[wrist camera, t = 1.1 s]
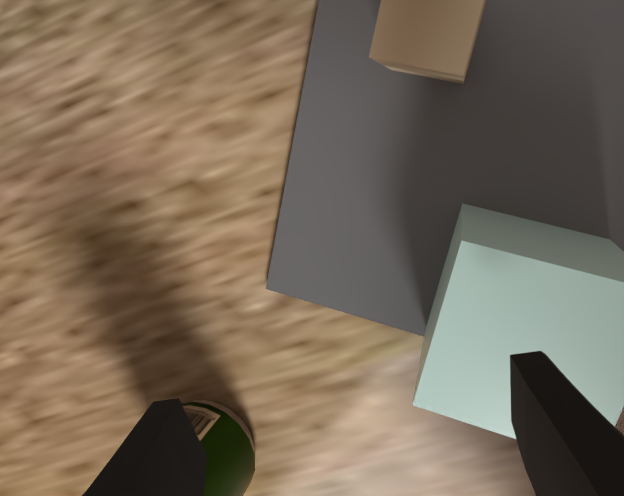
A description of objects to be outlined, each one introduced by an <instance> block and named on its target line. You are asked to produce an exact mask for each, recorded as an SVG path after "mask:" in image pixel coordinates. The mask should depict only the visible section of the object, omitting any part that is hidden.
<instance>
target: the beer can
mask: <svg viewBox="0 0 624 496" xmlns="http://www.w3.org/2000/svg"><path fill="white" fill-rule="evenodd" d="M181 404H182V406H183V408H184V410H185V412H186V414H187V416H188V418H189V420H190V422H191V424H192V426H193V428H194V430H195V432H196V434H197V436H198V438H199V440H200V442H201V444H202V446H203V449H204V451H205V453H206V455H207V465H206V476H205V485H204V494H203V496H243V495H244V493H245V491H246V490H247V488H248V486H249V484H250V482H251V479H252V477H253V474H254V471H255V448H254V442H253V439H252V436H251V433H250V431H249V429H248V428H247V426H246V425H245V423H244V422H243V421H242V419H241V418H240V417H239V416H238V415H236V414H235V413H234V412H233V411H232V410H230V409H229V408H227V407H225V406H223V405H221V404H219V403H217V402H214V401H208V400H202V399H201V400H195V401H188V402H184V403H181ZM82 496H83V495H82Z"/></svg>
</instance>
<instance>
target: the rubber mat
mask: <svg viewBox="0 0 624 496" xmlns="http://www.w3.org/2000/svg"><path fill="white" fill-rule="evenodd" d="M380 3H381V0H319V3H318V8H317V14H316V19H315V24H314V30H313V35H312V41H311V46H310V52H309V57H308V62H307V68H306V73H305V79H304V84H303V90H302V95H301V100H300V106H299V111H298V117H297V122H296V128H295V133H294V138H293V144H292V149H291V155H290V160H289V166H288V171H287V176H286V182H285V187H284V193H283V198H282V204H281V209H280V214H279V220H278V225H277V231H276V236H275V242H274V247H273V252H272V258H271V263H270V269H269V274H268V280H267V285H266V289H268V290H272V291H275V292H278V293H282V294H285V295H288V296H292V297H295V298H298V299H302V300H305V301H308V302H312V303H315V304H318V305H322V306H325V307H328V308H332V309H335V310H338V311H342V312H345V313H348V314H352V315H355V316H358V317H362V318H365V319H368V320H372V321H375V322H378V323H382V324H385V325H388V326H392V327H395V328H398V329H402V330H405V331H408V332H412V333H415V334H418V335H422V336H425V331H426V326H427V323H428V319H429V316H430V312H431V309H432V306H433V302H434V299H435V295H436V292H437V288H438V285H439V282H440V278H441V275H442V271H443V268H444V264H445V261H446V258H447V254H448V251H449V247H450V244H451V240H452V237H453V234H454V230H455V227H456V223H457V220H458V216H459V213H460V210H461V206H462V203H463V204H467V205H471V206H475V207H479V208H483V209H488V210H492V211H496V212H500V213H504V214H508V215H512V216H516V217H520V218H524V219H529V220H533V221H537V222H541V223H545V224H549V225H553V226H557V227H561V228H565V229H569V230H574V231H578V232H582V233H586V234H590V235H594V236H598V237H602V238H606V239H610V240H611V241H612V242H614V243H615V244H616V245H617V246H618V247H619V248H620V249H621V250H623V251H624V0H486V4H485V8H484V12H483V16H482V19H481V23H480V26H479V30H478V34H477V37H476V41H475V45H474V48H473V52H472V56H471V59H470V63H469V67H468V70H467V74H466V78H465V81H464V84H459V83H454V82H449V81H444V80H439V79H434V78H429V77H423V76H418V75H413V74H408V73H403V72H398V71H393V70H391V69H389V68H387V67H385V66H383V65H382V64H380V63H378V62H376V61H374V60H372V59H371V58H369V54H370V49H371V45H372V40H373V35H374V31H375V26H376V22H377V17H378V12H379V8H380Z"/></svg>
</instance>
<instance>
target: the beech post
mask: <svg viewBox="0 0 624 496" xmlns="http://www.w3.org/2000/svg"><path fill="white" fill-rule="evenodd" d="M485 4H486V0H381V3H380V8H379V12H378V17H377V22H376V26H375V31H374V35H373V40H372V45H371V49H370V54H369V58H371V59H372V60H374V61H376V62H378V63H380V64H382V65H383V66H385V67H387V68H389V69H391V70H393V71H398V72H403V73H408V74H413V75H418V76H423V77H429V78H434V79H439V80H444V81H449V82H454V83H459V84H464V81H465V78H466V74H467V70H468V67H469V63H470V59H471V56H472V52H473V48H474V45H475V41H476V37H477V34H478V30H479V26H480V23H481V19H482V16H483V12H484V8H485Z"/></svg>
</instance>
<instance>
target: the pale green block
mask: <svg viewBox="0 0 624 496" xmlns="http://www.w3.org/2000/svg"><path fill="white" fill-rule="evenodd" d="M535 351H542V352H543V353H545V354H546V355H547V356H548V357H549V358H550V360H551V361H552V362H553V363H554V364H555V365H556V366H557V368H558V369H559V370H560V371H561V372H562V373H563V374H564V375H565V376H566V378H567V379H568V380H569V381H570V382H571V383H572V384H573V385H574V386H575V387H576V388H577V389H578V390H579V391H580V392H581V394H582V395H583V396H584V397H585V398H586V399H587V400H588V401H589V402H590V403H591V404H592V405H593V406H594V407H595V408H596V409H597V410H598V411H599V412H600V413H601V414H602V415H603V416H604V417H605V418H606V419H607V420H608V421H609V422H610V423H611V424H612V425H613V426H614V427H615V425H616V423H617V421H618V418H619V416H620V414H621V412H622V409H623V407H624V251H623V250H621V249H620V248H619V247H618V246H617V245H616V244H615V243H614V242H612V241H611V240H610V239H606V238H602V237H598V236H594V235H590V234H586V233H582V232H578V231H574V230H569V229H565V228H561V227H557V226H553V225H549V224H545V223H541V222H537V221H533V220H529V219H524V218H520V217H516V216H512V215H508V214H504V213H500V212H496V211H492V210H488V209H483V208H479V207H475V206H471V205H467V204H463V203H462V206H461V210H460V213H459V216H458V220H457V223H456V227H455V230H454V234H453V237H452V240H451V244H450V247H449V251H448V254H447V258H446V261H445V264H444V268H443V271H442V275H441V278H440V282H439V285H438V288H437V292H436V295H435V299H434V302H433V306H432V309H431V312H430V316H429V319H428V323H427V326H426V331H425V337H424V342H423V348H422V354H421V359H420V365H419V371H418V376H417V382H416V388H415V393H414V399H413V406H416V407H420V408H423V409H426V410H429V411H432V412H435V413H438V414H441V415H444V416H447V417H450V418H453V419H456V420H459V421H462V422H465V423H468V424H471V425H474V426H477V427H480V428H483V429H486V430H489V431H493V432H496V433H499V434H502V435H505V436H508V437H511V438H514V439H516V436H515V432H514V429H513V426H512V422H511V387H510V355H512V354H519V353H527V352H535Z"/></svg>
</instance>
